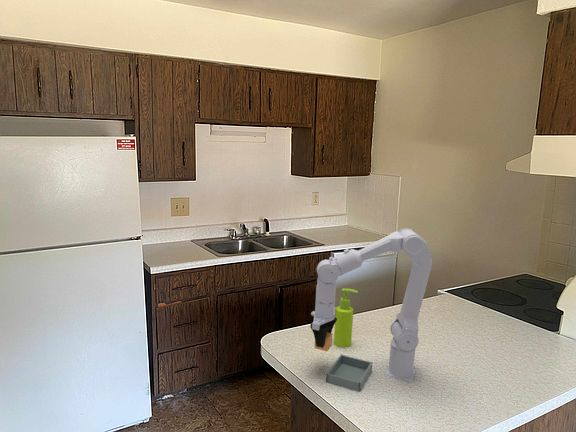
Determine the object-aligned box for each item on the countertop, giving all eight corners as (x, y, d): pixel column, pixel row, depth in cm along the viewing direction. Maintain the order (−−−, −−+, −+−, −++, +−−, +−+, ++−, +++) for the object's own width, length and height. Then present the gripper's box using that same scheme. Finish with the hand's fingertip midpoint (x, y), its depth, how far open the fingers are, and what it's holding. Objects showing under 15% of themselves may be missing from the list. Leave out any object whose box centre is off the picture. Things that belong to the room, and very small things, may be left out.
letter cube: (319, 342, 132) (320, 330, 132) (331, 345, 131) (332, 333, 130) (314, 348, 129) (315, 335, 128) (327, 351, 127) (327, 338, 127)
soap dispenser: (353, 350, 144) (357, 293, 141) (332, 347, 146) (336, 291, 142) (354, 342, 150) (358, 287, 147) (334, 339, 151) (338, 285, 148)
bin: (340, 363, 135) (341, 354, 135) (371, 371, 131) (372, 362, 131) (325, 383, 124) (326, 373, 123) (359, 393, 120) (360, 383, 119)
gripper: (321, 290, 136) (319, 331, 138) (303, 305, 123) (300, 350, 125) (342, 295, 133) (339, 336, 135) (326, 311, 120) (323, 356, 122)
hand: (322, 343), depth 130 cm, fingers closed on letter cube, 4 cm apart
